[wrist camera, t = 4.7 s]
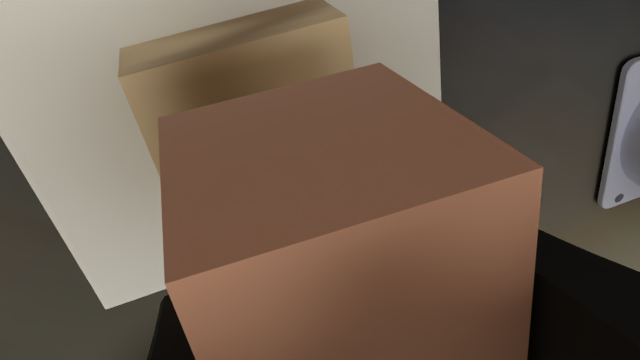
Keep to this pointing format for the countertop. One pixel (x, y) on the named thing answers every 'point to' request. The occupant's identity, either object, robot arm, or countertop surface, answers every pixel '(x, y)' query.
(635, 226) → the countertop surface
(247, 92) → the bottom brick
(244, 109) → the top brick
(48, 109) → the build plate
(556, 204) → the countertop surface
